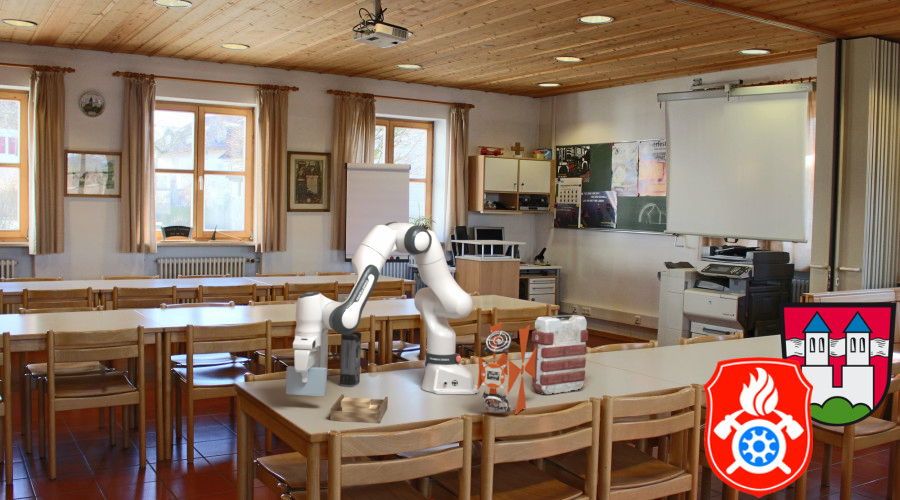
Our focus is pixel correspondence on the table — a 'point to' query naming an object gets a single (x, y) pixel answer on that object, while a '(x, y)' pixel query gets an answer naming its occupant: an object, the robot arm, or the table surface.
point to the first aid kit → (559, 353)
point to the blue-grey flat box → (311, 387)
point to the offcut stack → (358, 405)
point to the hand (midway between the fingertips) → (306, 380)
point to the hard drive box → (323, 350)
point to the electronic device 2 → (504, 370)
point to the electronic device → (350, 359)
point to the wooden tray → (359, 416)
